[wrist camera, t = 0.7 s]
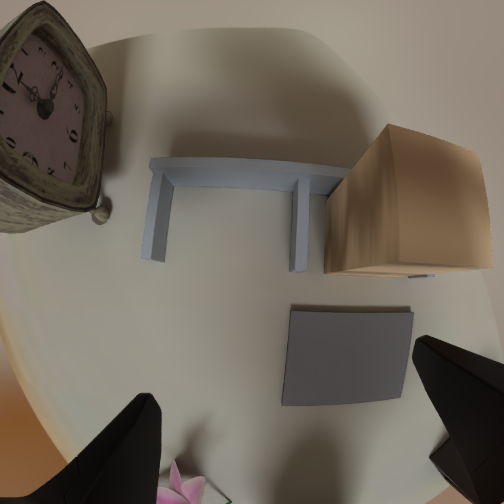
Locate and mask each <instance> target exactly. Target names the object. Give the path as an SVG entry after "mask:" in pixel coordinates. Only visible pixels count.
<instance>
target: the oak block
mask: <svg viewBox="0 0 504 504" xmlns="http://www.w3.org/2000/svg"><path fill="white" fill-rule="evenodd" d="M487 268H492V241H491V227H490V217H489V209H488V202H487V195H486V189H485V183H484V178H483V173H482V168H481V164H480V160H479V155H478V154H477V153H475V152H473V151H471V150H468V149H465V148H463V147H461V146H458V145H455V144H452V143H450V142H447V141H444V140H441V139H438V138H436V137H432V136H429V135H426V134H423V133H420V132H416V131H413V130H410V129H406V128H402V127H399V126H395V125H391V124H387V125H386V127H385V128H384V129H383V131H382V132H381V133H380V134H379V136H378V137H377V138H376V140H375V141H374V142H373V143H372V145H371V146H370V147H369V148H368V150H367V151H366V152H365V153H364V155H363V156H362V157H361V158H360V160H359V161H358V162H357V163H356V165H355V166H354V167H353V168H352V170H351V171H350V172H349V173H348V175H347V176H346V177H345V178H344V180H343V181H342V182H341V183H340V184H339V186H338V187H337V188H336V189H335V191H334V192H333V193H332V194H331V195H330V197H329V198H328V199H327V200H326V240H325V266H324V274H336V275H355V276H375V277H399V276H413V275H425V274H437V273H448V272H458V271H468V270H478V269H487Z"/></svg>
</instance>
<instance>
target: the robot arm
mask: <svg viewBox="0 0 504 504" xmlns="http://www.w3.org/2000/svg"><path fill="white" fill-rule="evenodd" d="M412 360H413V363H414V365H415V368H416V370H417V372H418V374H419V376H420V379H421V381H422V383H423V386H424V388H425V390H426V392H427V394H428V396H429V398H430V400H431V402H432V403H433V405H434V407H435V409H436V411H437V412H438V414H439V416H440V418H441V420H442V422H443V424H444V425H445V427H446V429H447V431H448V433H449V435H450V437H451V439H452V441H453V443H454V445H455V447H456V449H457V451H458V453H459V455H460V457H461V459H462V462H463V464H464V466H465V468H466V470H467V472H468V475H469V477H470V480H471V482H472V484H473V487H474V489H475V492H476V494H477V497H478V499H479V502H480V504H501V503H502V502H504V364H502V363H499V362H497V361H494V360H491V359H489V358H486V357H483V356H481V355H478V354H475V353H473V352H470V351H468V350H465V349H462V348H460V347H457V346H455V345H452V344H449V343H447V342H444V341H442V340H439V339H436V338H434V337H431V336H429V335H424V336H421V337H419V338H417V339H416V341H415V345H414V349H413V354H412ZM161 427H162V412H161V408H160V406H159V405H158V403H157V402H156V400H155V398H154V397H153V395H152V394H151V393H139V394H138V395H137V396H136V397H135V398H134V399H133V400H132V401H131V402H130V403H129V404H128V405H127V406H126V407H125V408H124V409H123V410H122V411H121V412H120V413H119V414H118V415H117V416H116V417H115V418H114V419H113V420H112V421H111V422H110V423H109V424H108V425H107V426H106V427H105V428H104V429H103V430H102V431H101V432H100V433H99V434H98V435H97V436H96V437H95V438H94V439H93V440H92V441H91V442H90V443H89V444H88V445H87V446H86V447H85V448H84V449H83V450H82V451H81V452H80V453H79V454H78V457H75V458H74V459H73V460H72V461H71V462H70V463H69V464H68V465H67V466H66V467H65V468H64V469H63V470H61V471H60V472H59V473H58V474H57V475H55V476H54V477H53V478H52V479H51V480H49V481H48V482H46V483H45V484H44V485H42V486H41V487H40V488H38V489H37V490H36V491H34V492H33V493H31V494H29V495H27V496H24V497H0V504H156V502H157V490H158V479H159V469H160V459H161Z"/></svg>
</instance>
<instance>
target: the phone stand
mask: <svg viewBox="0 0 504 504" xmlns="http://www.w3.org/2000/svg"><path fill="white" fill-rule="evenodd" d="M430 460H431V461H432V462H433V464H434V465H435V467H436V468H437V469H438V471H439V472H440V473H441V475H442V476H443V477H444V479H445V480H446V481H447V482H448V483H449V484H450V485H451V486H452V487H454V488H455V489H456V490H457V491H458V492H459V493H461V494H462V495H463V496H464V497H465V498H466V499H468V500H469V501H470V502H471V503H472V504H480V502H479V499H478V497H477V494H476V492H475V489H474V487H473V484H472V482H471V480H470V477H469V475H468V472H467V470H466V468H465V466H464V464H463V462H462V459H461V457H460V455H459V453H458V451H457V449H456V447H455V445H454V443H453V441H452V439H451V438H450V439H449V440H448V441H447V442H446V443H445V444H444V445H443V446H442V447H440V448H439V449H438V450H437V451H436V452H435V453H434V454H433V455H432V456H431V457H430Z"/></svg>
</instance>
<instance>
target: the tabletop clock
mask: <svg viewBox="0 0 504 504" xmlns="http://www.w3.org/2000/svg"><path fill="white" fill-rule="evenodd" d="M112 119H113V116H112V113H111V112H108V111H107V89H106V86H105V84H104V81H103V79H102V76H101V74H100V72H99V70H98V69H97V67H96V65H95V63H94V61H93V60H92V58H91V57H90V55H89V53H88V52H87V50H86V48H85V47H84V45H83V44H82V42H81V40H80V39H79V38H78V36H77V35H76V34H75V32H74V31H73V30H72V28H71V27H70V26H69V24H68V23H67V22H66V20H65V19H64V18H63V17H62V16H61V14H60V13H59V12H58V11H57V10H56V9H55V8H54V7H53V6H51V5H50V4H49V3H47V2H46V1H41V2H38V3H35V4H33V5H32V6H31V7H29V8H28V9H26V10H25V11H23V12H22V13H21V14H19V15H18V16H17V17H16V18H14V19H13V20H12V21H11V22H10V23H8V24H7V25H6V26H5V27H4V28H2V29H1V30H0V232H3V233H25V232H27V231H30V230H33V229H36V228H39V227H41V226H44V225H47V224H50V223H53V222H56V221H59V220H63V219H66V218H69V217H72V216H75V215H79V214H82V213H85V212H88V211H89V212H90V213H92V220H93V221H94V222H95V223H96V224H98V225H102V224H104V223H106V222H107V220H108V217H109V214H108V210H107V209H105V208H104V207H102V206H99V207H97V208H96V206H97V202H98V198H99V193H100V187H101V176H102V165H103V155H104V146H105V129H106V126H107V125H109V124H110V123H111V122H112Z"/></svg>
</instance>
